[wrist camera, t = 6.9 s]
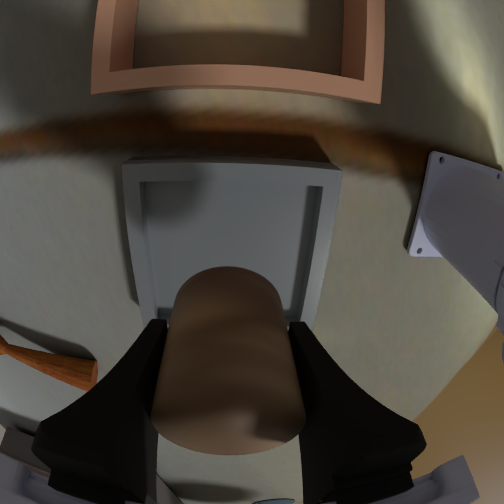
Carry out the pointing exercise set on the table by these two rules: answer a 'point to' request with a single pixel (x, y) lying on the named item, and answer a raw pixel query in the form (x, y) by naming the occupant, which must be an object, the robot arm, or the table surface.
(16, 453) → the organizer tray
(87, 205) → the table surface
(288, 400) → the brown rounded cylinder
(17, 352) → the kendama
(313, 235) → the tray
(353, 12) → the holder
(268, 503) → the cocktail glass
